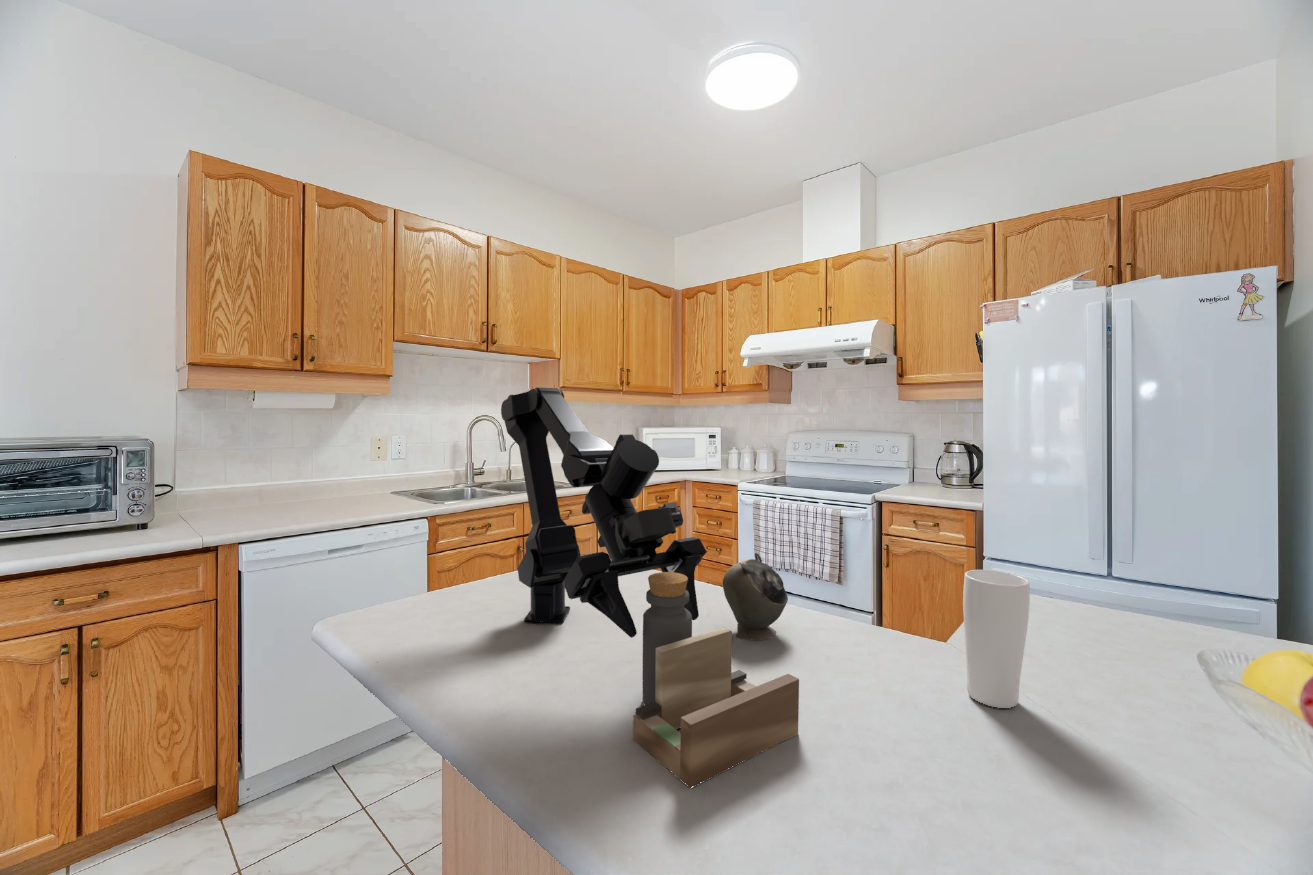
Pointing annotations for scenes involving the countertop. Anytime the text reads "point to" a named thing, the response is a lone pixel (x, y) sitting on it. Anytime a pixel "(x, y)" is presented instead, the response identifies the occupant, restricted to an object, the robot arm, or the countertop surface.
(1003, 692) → the drinking glass
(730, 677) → the wooden flat panel
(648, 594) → the bottle
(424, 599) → the countertop surface
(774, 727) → the wooden rack
